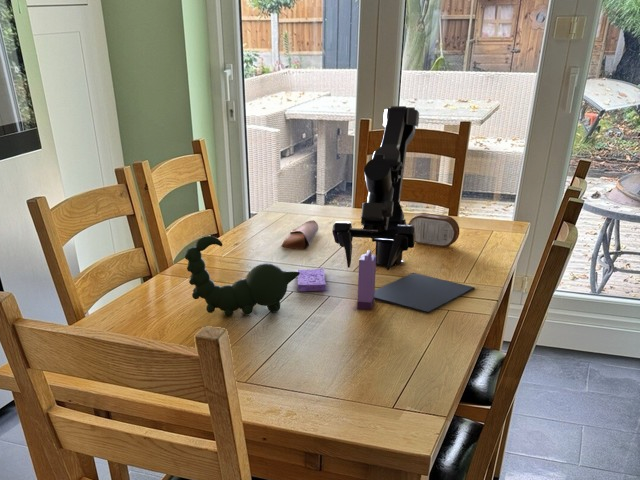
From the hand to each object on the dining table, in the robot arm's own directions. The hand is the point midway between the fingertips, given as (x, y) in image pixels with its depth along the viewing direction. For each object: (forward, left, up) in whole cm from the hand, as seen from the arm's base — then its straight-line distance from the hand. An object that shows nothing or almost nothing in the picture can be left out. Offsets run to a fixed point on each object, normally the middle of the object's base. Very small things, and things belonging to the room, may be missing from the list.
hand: (368, 268), depth 164 cm
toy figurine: (-19, -22, -9) cm, 30 cm away
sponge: (-20, +3, -9) cm, 22 cm away
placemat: (+5, +14, -9) cm, 18 cm away
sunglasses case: (-47, +30, -9) cm, 57 cm away
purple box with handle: (0, -1, -9) cm, 9 cm away
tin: (-14, +50, -9) cm, 53 cm away
